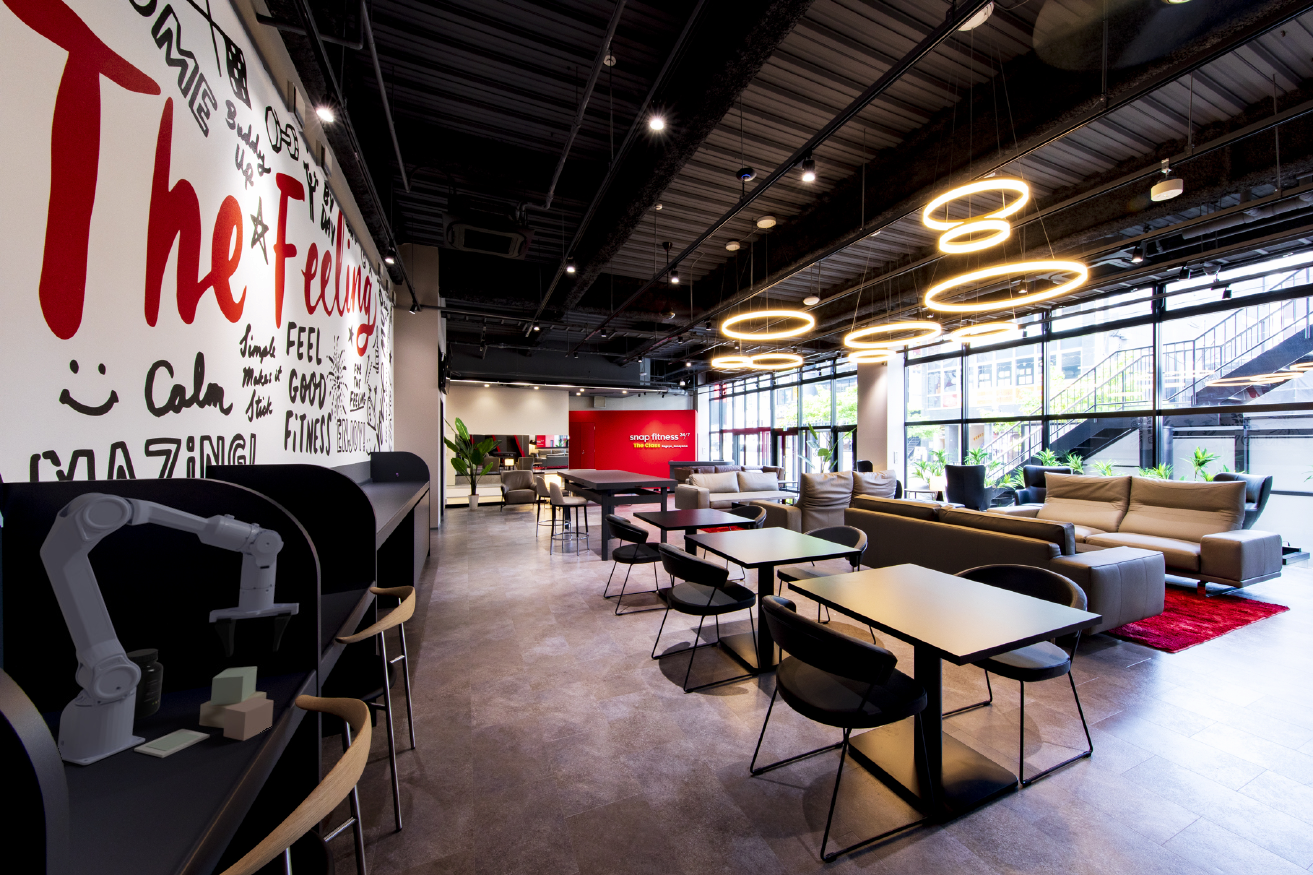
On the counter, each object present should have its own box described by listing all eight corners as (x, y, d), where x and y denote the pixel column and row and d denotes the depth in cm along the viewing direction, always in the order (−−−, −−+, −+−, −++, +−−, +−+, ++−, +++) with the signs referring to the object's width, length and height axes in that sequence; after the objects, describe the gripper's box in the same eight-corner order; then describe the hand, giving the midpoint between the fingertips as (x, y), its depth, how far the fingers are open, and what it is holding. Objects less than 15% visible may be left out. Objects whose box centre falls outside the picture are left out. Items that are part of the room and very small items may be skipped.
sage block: (210, 705, 95) (212, 678, 96) (226, 693, 100) (228, 668, 101) (241, 702, 97) (243, 676, 97) (255, 691, 102) (257, 666, 102)
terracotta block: (223, 736, 92) (225, 708, 92) (252, 723, 96) (254, 696, 97) (243, 741, 90) (245, 712, 91) (271, 727, 95) (273, 700, 95)
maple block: (199, 726, 96) (200, 704, 96) (236, 709, 102) (237, 689, 103) (229, 730, 94) (231, 708, 94) (264, 712, 101) (266, 692, 101)
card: (134, 750, 86) (134, 747, 86) (182, 730, 93) (182, 728, 93) (162, 757, 84) (162, 754, 85) (209, 736, 91) (209, 733, 91)
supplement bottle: (98, 725, 95) (105, 659, 96) (128, 708, 101) (134, 647, 102) (142, 722, 96) (147, 657, 97) (168, 705, 103) (173, 645, 104)
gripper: (206, 593, 99) (201, 664, 98) (296, 587, 106) (291, 653, 105) (217, 586, 105) (212, 652, 104) (301, 580, 112) (297, 643, 111)
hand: (252, 652), depth 105 cm, fingers open, 7 cm apart
